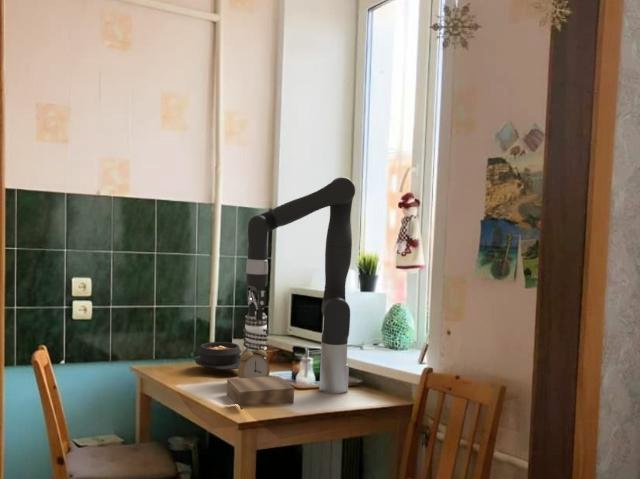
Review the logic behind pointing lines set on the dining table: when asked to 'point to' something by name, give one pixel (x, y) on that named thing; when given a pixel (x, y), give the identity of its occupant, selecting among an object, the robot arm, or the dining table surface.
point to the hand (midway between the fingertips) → (255, 318)
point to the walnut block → (260, 391)
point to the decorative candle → (255, 333)
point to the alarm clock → (253, 364)
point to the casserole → (219, 356)
